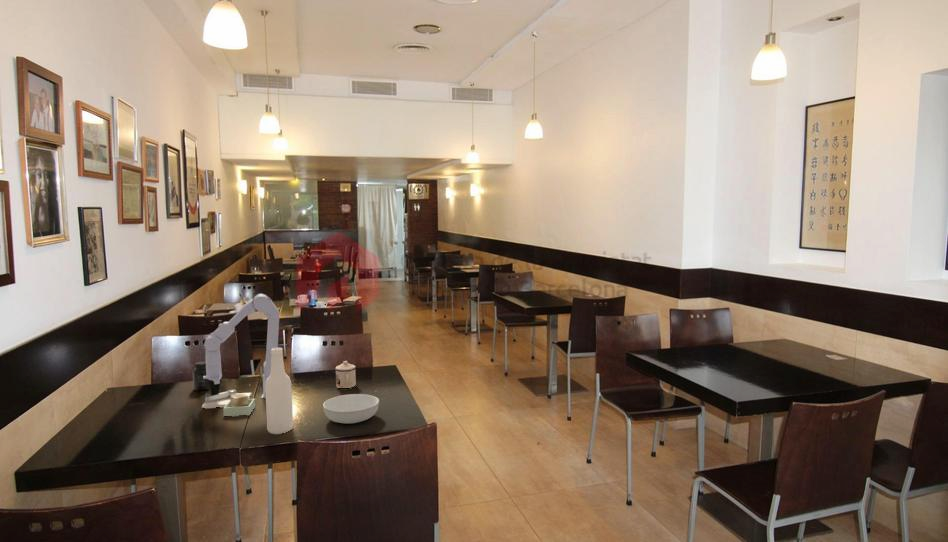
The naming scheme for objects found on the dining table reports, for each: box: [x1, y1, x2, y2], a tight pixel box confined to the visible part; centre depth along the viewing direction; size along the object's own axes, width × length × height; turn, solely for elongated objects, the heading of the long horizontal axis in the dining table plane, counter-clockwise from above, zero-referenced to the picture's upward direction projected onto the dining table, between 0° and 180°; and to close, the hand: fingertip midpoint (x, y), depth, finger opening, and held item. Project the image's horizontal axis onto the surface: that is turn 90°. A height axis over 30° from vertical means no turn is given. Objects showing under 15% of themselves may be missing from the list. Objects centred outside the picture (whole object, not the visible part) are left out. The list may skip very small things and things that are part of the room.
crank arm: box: [204, 389, 237, 403], centre depth 231 cm, size 12×4×3 cm, turn 135°
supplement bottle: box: [192, 361, 210, 392], centre depth 248 cm, size 7×7×12 cm
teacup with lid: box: [334, 360, 357, 389], centre depth 249 cm, size 12×9×12 cm
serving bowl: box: [322, 393, 380, 425], centre depth 210 cm, size 21×21×7 cm
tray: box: [222, 398, 256, 417], centre depth 219 cm, size 10×10×4 cm
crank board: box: [201, 392, 252, 409], centre depth 231 cm, size 16×14×2 cm
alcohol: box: [265, 347, 294, 435], centre depth 198 cm, size 9×9×30 cm
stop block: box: [230, 392, 249, 407], centre depth 219 cm, size 5×5×6 cm
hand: (215, 396), depth 231 cm, fingers closed, pressing on crank arm
